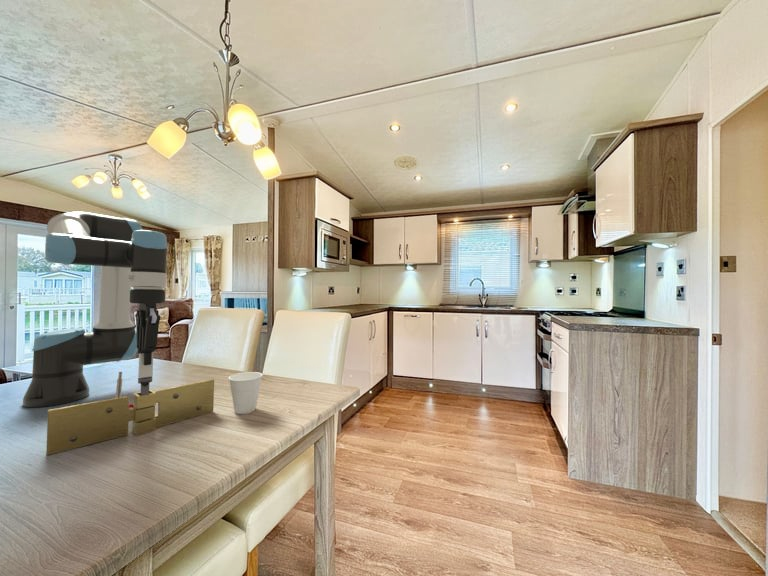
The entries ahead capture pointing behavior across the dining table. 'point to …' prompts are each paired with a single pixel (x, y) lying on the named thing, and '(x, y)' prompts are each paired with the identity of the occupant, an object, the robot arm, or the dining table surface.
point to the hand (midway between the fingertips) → (145, 376)
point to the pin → (144, 385)
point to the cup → (245, 391)
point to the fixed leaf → (174, 404)
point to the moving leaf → (91, 423)
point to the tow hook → (120, 387)
